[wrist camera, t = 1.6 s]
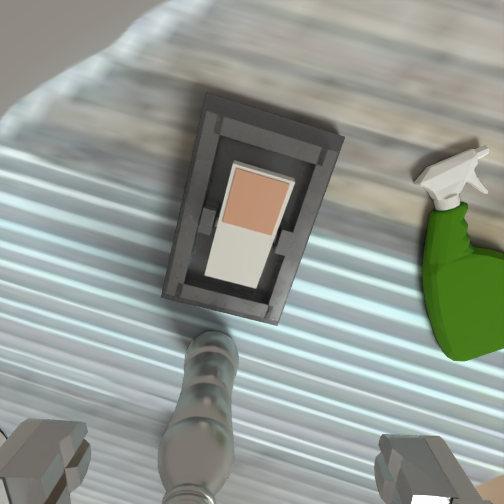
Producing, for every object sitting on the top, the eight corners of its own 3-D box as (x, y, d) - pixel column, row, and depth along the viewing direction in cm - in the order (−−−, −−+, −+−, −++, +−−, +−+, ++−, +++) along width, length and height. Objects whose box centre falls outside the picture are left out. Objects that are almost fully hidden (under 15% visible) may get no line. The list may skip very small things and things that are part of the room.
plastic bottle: (244, 329, 39) (243, 502, 20) (233, 373, 41) (222, 569, 22) (193, 319, 38) (140, 489, 19) (184, 364, 40) (129, 558, 21)
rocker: (258, 282, 34) (257, 289, 33) (204, 268, 33) (202, 275, 32) (296, 178, 28) (297, 183, 27) (231, 159, 27) (230, 163, 26)
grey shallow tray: (276, 319, 38) (280, 346, 33) (164, 291, 37) (150, 314, 31) (340, 137, 32) (359, 135, 26) (208, 95, 30) (200, 83, 25)
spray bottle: (434, 354, 41) (388, 178, 34) (517, 326, 40) (487, 139, 33) (448, 369, 38) (401, 180, 31) (538, 339, 37) (510, 137, 30)
